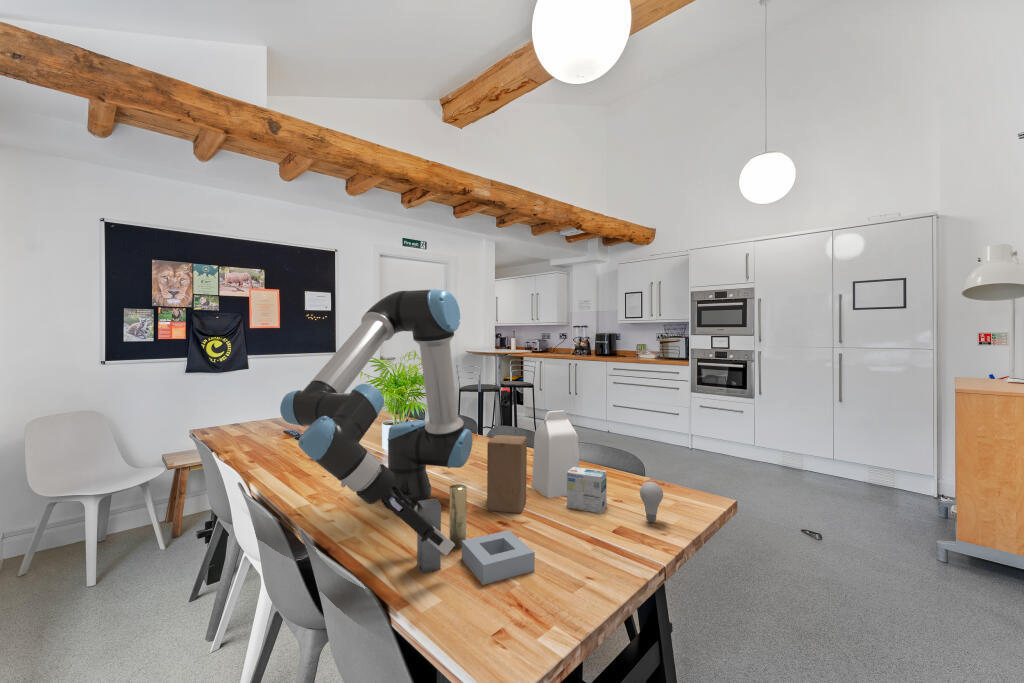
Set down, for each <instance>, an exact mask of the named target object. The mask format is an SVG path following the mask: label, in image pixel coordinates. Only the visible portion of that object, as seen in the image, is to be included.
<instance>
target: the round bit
mask: <svg viewBox="0 0 1024 683" xmlns="http://www.w3.org/2000/svg"><path fill="white" fill-rule="evenodd" d="M467 488H468V487H467V486H466V485H464V484H452V485H450V486H449V532H448V533H449V536H448V537H449V538H448V539H449V540H450V541H452V542H453V543H454V544H455V546H454V547H453V548H452V549H451V550H462V541H463V540H467V493H468V492H467Z"/></svg>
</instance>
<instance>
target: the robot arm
mask: <svg viewBox="0 0 1024 683" xmlns="http://www.w3.org/2000/svg"><path fill="white" fill-rule="evenodd" d="M460 320H461V311H460V307H459V304H458V301H457V298H456V297H455V296H454V295H453V293H452V292H450V291H448V290H444V289H443V290H442V289H436V288H435V289H420V290H417V289H416V290H415V289H414V290H399V291H395V292H393V293H390V294H388V295H386V296H385V297H383V298H382V299H380V300H378V301H377V302H376V303H375V304H373V305H372V306H371V307H370V308H369V309H368V310H367V311H366V312H365V313H364V315H363V316H362V317H361V321H360V322H361V324H359V326H358V327H357V328H356V329H355V330H354V332H352V334H351V335H350V337H348V338H347V340H346V341H345V342H344V343H343V344H342V345H341V347H339V349H338V350H337V351H336V352H335V354H334V355H333V356H332V357H330V359H329V360H328V362H327V363H326V364H325V365H324V366H323V367H322V368H321V370H320V371H319V372H318V373H317V374H316V375H315V376H314V378H313V379H312V380H311V381H310V382H309V383H308V384H307V385H306V387H305V388H304V389H303V390H301V389H298V390H292V391H290V392H288V393H286V394H285V395H284V397H283V398H282V400H281V402H280V406H279V407H280V408H279V410H280V415H281V417H282V420H284V422H286V423H288V424H291V425H295V426H301V427H308V428H306V429H305V430H304V432H303V433H302V434H301V435H300V437H299V439H298V443H297V444H298V447H299V448H300V449H301V451H302V452H304V454H305V455H307V456H308V457H309V459H311V460H312V461H313V462H315V463H316V464H318V465H319V466H320V467H321V468H323V469H325V471H327V472H328V473H329V474H331V475H332V477H334V478H336V479H337V480H338V481H339V482H341V483H340V486H341V488H345V487H347V488H348V489H350V490H351V491H352V492H354V493H355V492H356V495H357V496H358V497H359V498H360V499H361V500H363V501H364V502H365V503H366V504H368V505H373V504H376V503H377V502H379V501H380V502H382V504H383V507H385V508H386V509H388V510H389V511H391V512H392V513H394V515H395V516H396V517H399V518H400V519H401V520H402V521H403V522H404V523H405V524H407V525H408V527H410V528H411V530H413V531H414V532H415V533H418V534H419V535H420V536H421V537H422V539H421V541H422V542H424V541H426V540H427V541H428V542H430V543H431V544H432V545H433V546H435V547H436V548H437V549H438V550H439V551H441V553H442V554H443V555H444V556H446V557H447V555H448V554H449V553H450V552H451V550H453V549H452V548H453V547H454V546H455V544H454V543H453V542H452V541H450V540H449V538H448V537H447V536H446V534H443V533H442V531H441V532H440V531H439V530H437V529H436V528H435V527H434V526H432V525H430V524H429V523H428V522H427V521H426V520H424V519H423V518H422V517H421V516H420V515H419V514H418V513H417V509H418V501H421V500H427V499H429V498H430V497H431V496H432V485H431V483H430V479H429V475H428V473H427V466H433V467H443V468H448V469H451V468H453V469H457V468H458V469H459V468H462V467H463V466H464V465H466V463H467V462H468V460H469V458H470V455H471V452H472V448H473V432H472V430H470V429H469V428H465V423H464V420H463V419H462V418H461V417H460V416H459V414H458V406H457V405H458V404H457V396H456V395H457V394H456V387H455V379H454V378H455V377H454V370H453V368H454V367H453V359H452V350H451V340H452V339H453V338H454V336H455V332H456V331H457V330H458V329H459V327H460V324H461V322H460ZM400 332H412V338H413V342H415V343H417V345H419V351H420V358H421V367H422V375H423V381H424V382H423V383H424V389H425V397H426V398H425V399H426V406H427V413H428V414H427V415H428V422H427V421H426V420H421V419H418V420H410V421H402V422H399V423H396V424H393V425H391V426H390V427H389V428H388V433H387V435H388V436H387V466H386V465H385V464H383V463H381V461H380V460H379V459H378V458H377V457H376V456H375V455H373V454H372V453H371V452H370V451H369V450H368V449H367V448H365V447H364V446H363V445H362V443H360V442H361V440H362V439H363V437H365V434H366V433H367V432H368V430H369V429H370V427H372V425H373V423H374V422H375V421H376V420H377V418H378V416H379V414H380V412H381V411H382V408H383V407H384V405H385V398H384V395H383V393H382V392H381V391H380V390H379V389H378V388H377V387H376V386H373V385H371V384H368V383H361V384H358V385H357V386H355V387H354V388H353V389H352V390H351V392H349V393H345V392H347V390H348V389H349V387H350V386H351V385H352V384H353V382H354V381H355V380H356V378H357V377H358V376H359V374H361V372H362V371H363V369H364V368H365V367H366V365H367V364H368V363H369V362H370V361H371V359H372V358H373V356H374V355H375V353H377V351H378V350H379V349H380V347H381V346H382V345H383V343H384V342H387V341H389V340H391V339H392V337H393V336H394V335H396V334H397V333H400Z"/></svg>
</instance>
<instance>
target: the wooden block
mask: <svg viewBox="0 0 1024 683" xmlns="http://www.w3.org/2000/svg"><path fill="white" fill-rule="evenodd" d="M527 443H528V438H527V436H524V435H507V434H495V435H494V436H493V437H491V439H490V440H488V441H487V450H486V451H487V460H486V461H487V466H486V468H487V476H486V480H487V481H486V482H487V483H486V484H487V485H486V488H487V489H486V497H487V498H486V509H487V511H492V512H502V513H514V514H521V512H522V510H523V509H524V506H525V504H526V502H527V471H528V470H527V469H528V466H527V458H528V457H527V450H528V449H527V448H528V447H527Z"/></svg>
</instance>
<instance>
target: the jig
mask: <svg viewBox="0 0 1024 683" xmlns="http://www.w3.org/2000/svg"><path fill="white" fill-rule="evenodd" d="M535 553H536V552H535V551H534V550H533V549H532V548H531V547H529V545H527V544H526V543H525V542H524V541H522V539H520V538H519V537H517V536H516V534H514V533H513V532H512V531H511V530H509V529H508V530H504V531H498V532H494V533H489V534H485V535H480V536H478V537H477V536H476V537H473V538H469V539H467V538H466V540H463V541H462V549H461V559H462V561H463V562H464V563H465V564H466V566H467V567H468V568H469V569H470V570H471V572H472V573H473V574H474V575H475V577H476V578H477V579H478V580H479V581H480V583H481V584H482V586H483V585H489V584H491V583H495V582H498V581H502V580H506V579H509V578H513V577H517V576H520V575H525V574H528V573H531V572H534V571H535V568H536V567H535V566H536V565H535V561H536V560H535Z"/></svg>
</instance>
